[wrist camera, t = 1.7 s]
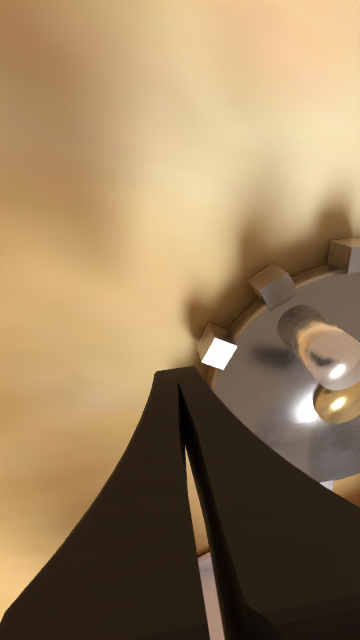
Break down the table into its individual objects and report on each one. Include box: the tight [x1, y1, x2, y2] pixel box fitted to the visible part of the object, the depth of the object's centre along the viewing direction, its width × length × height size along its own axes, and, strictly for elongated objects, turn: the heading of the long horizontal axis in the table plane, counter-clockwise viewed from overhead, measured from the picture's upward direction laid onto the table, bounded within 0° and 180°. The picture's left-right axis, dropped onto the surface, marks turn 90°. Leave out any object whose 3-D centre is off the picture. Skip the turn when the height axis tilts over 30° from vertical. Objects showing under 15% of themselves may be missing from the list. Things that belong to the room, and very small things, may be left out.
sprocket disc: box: [196, 237, 360, 491], centre depth 15 cm, size 16×16×5 cm
